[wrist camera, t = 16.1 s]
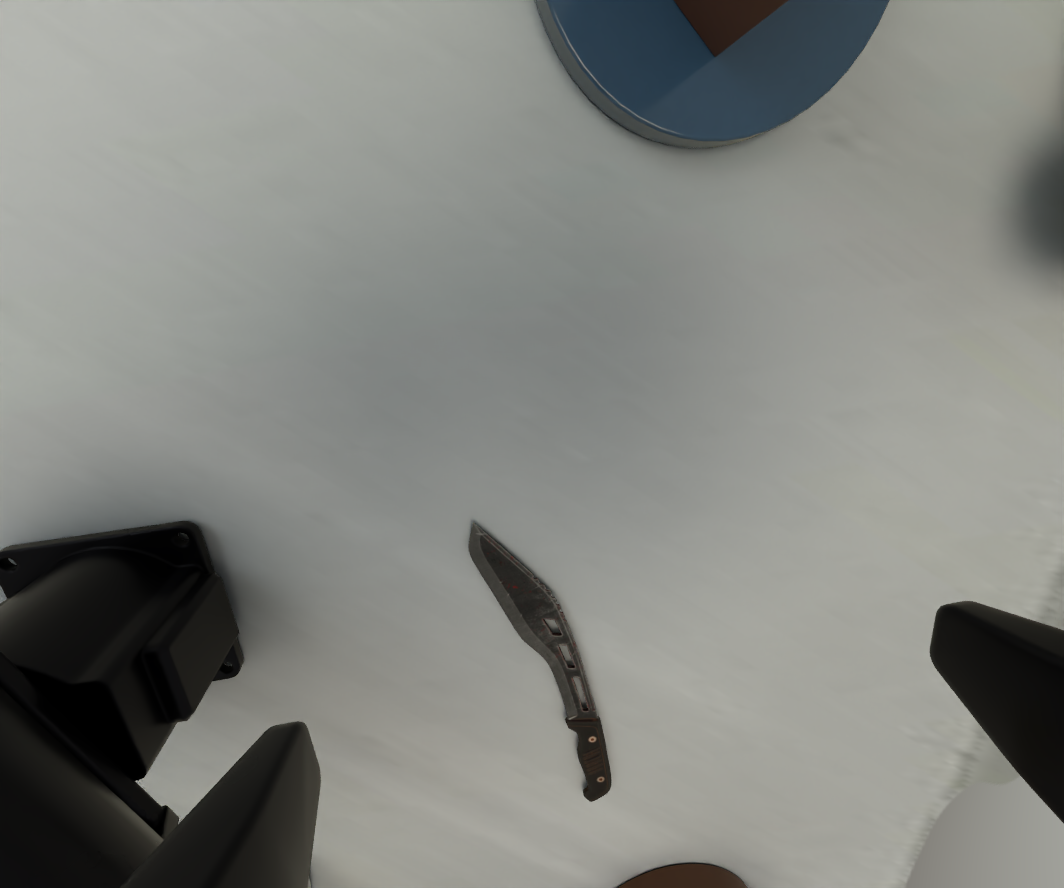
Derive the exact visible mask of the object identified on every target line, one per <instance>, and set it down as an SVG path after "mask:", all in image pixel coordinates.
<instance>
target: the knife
mask: <svg viewBox="0 0 1064 888" xmlns="http://www.w3.org/2000/svg"><path fill="white" fill-rule="evenodd" d="M469 552H470V555H471V558H472V560H473V562H474V563H475V565H476V567H477V568H478V570H479V572H480V573H481V575H482V577H483V578H484V580H485V581H486V583H487V584H488V586H489V588H490V589H491V591H492V592H493V594H494V596H495V597H496V599H497V601H498V602H499V604H500V606H501V607H502V609H503V610H504V612H505V614H506V615H507V617H508V618H509V620H510V622H511V623H512V625H513V626H514V628H515V630H516V631H517V633H518V634H519V636H520V637H521V638H522V639H523V640H524V641H525V642H526V643H527V644H528V645H529V646H530V647H532V648H533V649H534V650H535V651H536V652H538V653H539V654H540V655H541V656H542V657H543V658H544V659H545V660H546V661H547V663H548V664H549V666H550V668H551V670H552V672H553V674H554V677H555V679H556V682H557V684H558V687H559V690H560V693H561V695H562V698H563V701H564V705H565V708H566V711H567V715H568V717H566V718H565V720H566V723H567V726H568V728H569V729H571V730H574V731H575V732H576V733H577V734H578V737H579V742H578V749H577V750H578V758H579V761H580V764H581V766H582V768H583V771H584V773H585V776H586V780H587V784H588V785H587V787H586V788H585V789H584V790H583V794H584V796H585V798H586V799H588V800H589V801H591V802H592V801H595V800H597V799H599V798H600V797H602V796H604V795H605V794H607V793H608V791H609V790H610V787H611V773H610V766H609V761H608V755H607V750H606V745H605V740H604V735H603V730H602V725H601V721H600V718H599V716H598V715H597V712H596V708H595V705H594V702H593V698H592V695H591V692H590V688H589V685H588V682H587V678H586V675H585V671H584V668H583V665H582V661H581V658H580V655H579V652H578V649H577V646H576V643H575V641H574V638H573V636H572V633H571V630H570V628H569V626H568V623H567V621H566V620H564V619H563V618H564V614H563V612H561V611H560V609H561V607H560V605H559V604H557V603H556V601H557V600H556V599H555V597H552V596H551V595H552V592H551V591H550V590H547V589H545V585H544V584H543V583H539V579H538V578H534V577H533V574H532V573H531V572H530V571H529V570H528V569H527V568H526V567H524V566H523V565H522V564H521V563H520V562H519V561H518V560H517V559H515V558H514V557H513V556H512V555H511V554H510V553H509V552H507V551H506V550H505V549H504V548H503V547H502V546H500V545H499V544H498V543H497V542H496V541H495V540H493V539H492V538H491V537H490V536H489V535H488V534H486V533H485V532H484V531H483V530H482V529H481V528H479V527H478V526H477V525H476V524H475V523H474V522H473V526H472V530H471V535H470V541H469ZM544 619H550V620H555V622H556V624H557V626H558V628H559V630H560V632H561V633H552V631H551V630H550V628H549V627H548V625H547V623H546V622H545V620H544ZM559 645H564V646H567V648H568V651H569V653H570V656H571V658H572V661H573V664H574V665H567V663H566V660H565V658H564V656H563V654H562V652H561V650H560V647H559ZM573 677H578V678H580V681H581V685H582V688H583V692H584V696H585V699H586V703H587V706H588V708H582V705H581V702H580V698H579V695H578V692H577V689H576V686H575V683H574V680H573Z"/></svg>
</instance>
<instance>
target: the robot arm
mask: <svg viewBox="0 0 1064 888" xmlns="http://www.w3.org/2000/svg"><path fill="white" fill-rule="evenodd" d="M178 533H184V534H186V535H187V536H188V538H189V540H183V539H181V538H180V536H179V535H178ZM9 558H10V559H12V560H14V561H15V562H16V564H17V565H15V564H13V563H11V562H10V561H9ZM0 585H1V587H2V589H3V591H4V593H5V595H6V597H7V599H6V600H5V601H4V602H2V603H1V604H0V888H308V880H309V872H310V864H311V856H312V849H313V841H314V833H315V825H316V817H317V809H318V801H319V794H320V784H321V776H320V767H319V763H318V760H317V757H316V754H315V750H314V747H313V744H312V741H311V737H310V734H309V731H308V728H307V726H306V725H305V723H303V722H300V721H297V722H291V723H286V724H280V725H275V726H272V727H270V728H269V729H268V730H266V731H265V732H264V733H263V734H262V736H261V737H260V738H259V739H258V740H257V741H256V742H255V743H254V744H253V745H252V746H251V747H250V748H249V749H248V751H247V752H246V753H245V754H244V755H243V756H242V757H241V758H240V759H239V760H238V761H237V762H236V763H235V764H234V766H233V767H232V768H231V769H230V770H229V771H228V772H227V773H226V774H225V775H224V776H223V777H222V778H221V779H220V780H219V782H218V783H217V784H216V785H215V786H214V787H213V788H212V789H211V790H210V791H209V792H208V793H207V794H206V795H205V797H204V798H203V799H202V800H201V801H200V802H199V803H198V804H197V805H196V806H195V807H194V808H193V809H192V810H191V812H190V813H189V814H188V815H187V816H186V817H185V818H184V819H183V820H182V821H181V822H180V823H179V824H178V821H179V817H178V816H177V815H176V814H175V813H174V812H173V811H172V810H171V809H170V808H169V807H168V806H166V805H165V806H162V807H161V806H160V805H159V804H158V803H157V802H156V801H155V800H154V799H153V798H152V797H151V796H150V795H149V794H148V793H147V792H146V791H145V790H144V789H143V788H141V787H140V786H139V785H138V784H137V783H136V782H135V781H136V780H139V779H142V778H144V777H145V775H146V774H147V772H148V771H149V769H150V767H151V766H152V764H153V762H154V760H155V759H156V757H157V755H158V754H159V752H160V750H161V749H162V747H163V745H164V744H165V742H166V740H167V739H168V737H169V735H170V734H171V732H172V730H173V729H174V727H175V725H176V724H177V722H182V721H187V720H188V719H189V718H190V717H191V715H192V714H193V713H194V712H195V710H196V708H197V706H198V705H199V703H200V701H201V699H202V698H203V696H204V694H205V692H206V691H207V689H208V687H209V685H210V684H211V682H212V681H217V680H223V679H229V678H232V677H235V676H236V675H237V674H238V673H239V671H240V669H241V667H242V665H243V663H244V660H243V656H242V653H241V650H240V647H239V644H238V641H237V636H238V635H239V630H238V627H237V624H236V621H235V618H234V615H233V612H232V609H231V606H230V603H229V600H228V597H227V594H226V591H225V587H224V584H223V581H222V579H221V577H219V576H218V575H217V574H216V573H215V572H214V569H213V566H212V563H211V560H210V557H209V554H208V551H207V548H206V545H205V542H204V539H203V536H202V533H201V531H200V529H199V527H198V526H197V525H195V524H194V523H191V522H189V521H180V522H173V523H166V524H159V525H152V526H145V527H138V528H131V529H124V530H117V531H110V532H103V533H96V534H89V535H82V536H75V537H68V538H61V539H54V540H47V541H40V542H33V543H26V544H19V545H12V546H9V547H6V548H4V549H2V550H1V551H0ZM930 657H931V660H932V662H933V664H934V666H935V668H936V669H937V671H938V672H939V673H940V675H941V676H942V677H943V678H944V680H945V681H946V682H947V684H948V685H949V686H950V687H951V689H952V690H953V691H954V692H955V694H956V695H957V696H958V698H959V699H960V700H961V701H962V703H963V704H964V705H965V707H966V708H967V709H968V710H969V712H970V713H971V714H972V715H973V717H974V718H975V719H976V721H977V722H978V723H979V724H980V726H981V727H982V728H983V730H984V731H985V732H986V733H987V735H988V736H989V737H990V738H991V740H992V741H993V742H994V744H995V745H996V746H997V747H998V749H999V750H1000V751H1001V753H1002V754H1003V755H1004V756H1005V757H1006V759H1007V760H1008V761H1009V762H1010V764H1011V765H1012V766H1013V767H1014V769H1015V770H1016V771H1017V772H1018V773H1019V774H1020V776H1021V777H1022V778H1023V779H1024V780H1025V781H1026V782H1027V783H1028V784H1029V786H1030V787H1031V788H1032V789H1033V790H1034V791H1035V792H1036V794H1038V796H1039V797H1040V798H1041V799H1042V800H1043V801H1044V802H1045V803H1046V804H1047V806H1048V807H1049V808H1050V809H1051V810H1052V811H1053V812H1054V813H1055V814H1056V815H1057V817H1058V818H1059V819H1060V820H1061V821H1062V822H1063V823H1064V630H1061V629H1058V628H1055V627H1051V626H1048V625H1045V624H1042V623H1039V622H1036V621H1033V620H1030V619H1026V618H1023V617H1020V616H1017V615H1014V614H1011V613H1008V612H1005V611H1001V610H998V609H995V608H992V607H989V606H986V605H983V604H980V603H977V602H973V601H962V602H956V603H951V604H946V605H943V606H941V607H940V608H939V609H938V610H937V613H936V617H935V622H934V628H933V634H932V639H931V645H930ZM223 662H228V663H230V664H231V665H232V666H227V665H225V664H224V663H223Z"/></svg>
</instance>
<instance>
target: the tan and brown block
mask: <svg viewBox="0 0 1064 888" xmlns="http://www.w3.org/2000/svg"><path fill="white" fill-rule="evenodd" d="M674 1H675V3H676V4H677V5H678V7H679V8H680V9H681V11H682V12H683V14H684V15H685V16H686V18H687V19H688V21H689V22H690V23H691V25H692V26H693V27H694V29H695V30H696V32H697V33H698V34H699V36H700V37H701V38H702V40H703V41H704V43H705V44H706V45H707V47H708V48H709V50H710V51H711V52H712V54H713V55H714V56H715V57H716V56H718V55H719V54H720V53H722V52H723V51H724V50H725V49H727V48H728V47H729V46H731V45H732V44H733V43H734V42H736V41H737V40H738V39H740V38H741V37H742V36H743V35H745V34H746V33H747V32H749V31H750V30H751V29H752V28H754V27H755V26H756V25H758V24H759V23H760V22H761V21H763V20H764V19H765V18H767V17H768V16H769V15H770V14H772V13H773V12H774V11H776V10H777V9H778V8H779V7H781V6H782V5H783V4H785V3H786V2H787V1H788V0H674Z"/></svg>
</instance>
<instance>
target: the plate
mask: <svg viewBox="0 0 1064 888" xmlns="http://www.w3.org/2000/svg"><path fill="white" fill-rule="evenodd" d="M888 2H889V0H788V1H787V2H786V3H785V4H783V5H782V6H781V7H779V8H778V9H777V10H776V11H774V12H773V13H772V14H770V15H769V16H768V17H767V18H765V19H764V20H763V21H761V22H760V23H759V24H758V25H756V26H755V27H754V28H752V29H751V30H750V31H749V32H747V33H746V34H745V35H743V36H742V37H741V38H740V39H738V40H737V41H736V42H734V43H733V44H732V45H731V46H729V47H728V48H727V49H725V50H724V51H723V52H722V53H720V54H719V55H718V56H716V57H715V56H714V55H713V54H712V52H711V51H710V50H709V48H708V47H707V45H706V44H705V43H704V41H703V40H702V38H701V37H700V36H699V34H698V33H697V32H696V30H695V29H694V27H693V26H692V25H691V23H690V22H689V21H688V19H687V18H686V16H685V15H684V14H683V12H682V11H681V9H680V8H679V7H678V5H677V4H676V3H675V1H674V0H536V4H537V7H538V10H539V13H540V16H541V18H542V21H543V24H544V27H545V29H546V32H547V34H548V36H549V38H550V40H551V43H552V45H553V47H554V49H555V51H556V53H557V55H558V57H559V59H560V60H561V62H562V63H563V65H564V66H565V68H566V69H567V71H568V72H569V74H570V75H571V77H572V79H573V80H574V81H575V82H576V84H577V85H578V86H579V87H580V88H581V90H582V91H583V92H584V93H585V94H586V96H587V97H588V98H589V99H590V100H591V101H592V102H593V103H594V104H595V105H596V106H598V107H599V108H600V109H601V110H602V111H603V112H604V113H605V114H606V115H607V116H609V117H610V118H612V119H613V120H615V121H616V122H618V123H619V124H621V125H622V126H623V127H625V128H626V129H628V130H630V131H632V132H634V133H636V134H638V135H641V136H643V137H645V138H647V139H650V140H653V141H656V142H659V143H663V144H666V145H671V146H677V147H684V148H713V147H719V146H725V145H731V144H734V143H737V142H741V141H744V140H747V139H750V138H753V137H755V136H758V135H760V134H762V133H765V132H767V131H769V130H772V129H774V128H776V127H778V126H780V125H782V124H784V123H786V122H788V121H790V120H792V119H793V118H795V117H796V116H798V115H799V114H801V113H802V112H804V111H805V110H807V109H808V108H810V107H811V106H812V105H813V104H814V103H816V102H817V101H818V100H819V99H820V98H821V97H823V96H824V95H825V94H826V93H827V92H829V91H830V89H831V88H832V87H833V86H834V85H835V84H836V83H837V82H838V81H839V80H840V79H841V78H842V76H843V75H844V74H845V73H846V72H847V71H848V70H849V68H850V67H851V65H852V64H853V63H854V61H855V60H856V59H857V57H858V56H859V55H860V53H861V52H862V51H863V49H864V48H865V46H866V44H867V42H868V41H869V39H870V37H871V36H872V34H873V32H874V31H875V29H876V27H877V26H878V24H879V22H880V19H881V17H882V15H883V13H884V11H885V9H886V6H887V4H888Z"/></svg>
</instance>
